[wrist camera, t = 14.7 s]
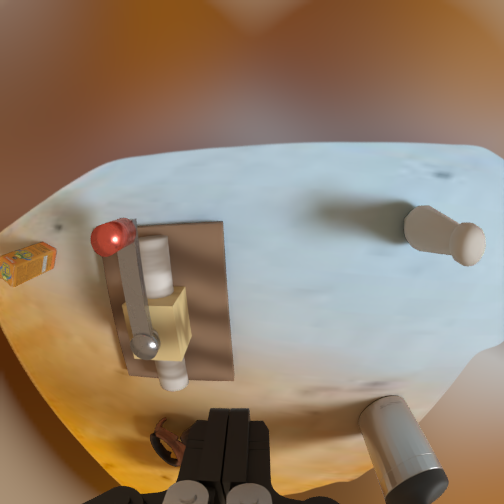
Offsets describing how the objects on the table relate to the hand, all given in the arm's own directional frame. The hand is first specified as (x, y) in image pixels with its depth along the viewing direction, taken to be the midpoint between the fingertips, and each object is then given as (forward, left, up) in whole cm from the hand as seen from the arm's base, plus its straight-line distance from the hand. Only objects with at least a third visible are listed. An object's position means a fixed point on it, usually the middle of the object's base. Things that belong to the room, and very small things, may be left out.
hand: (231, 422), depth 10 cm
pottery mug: (-31, +12, -27) cm, 43 cm away
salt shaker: (+3, -22, -27) cm, 35 cm away
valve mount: (-7, +11, -27) cm, 30 cm away
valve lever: (-1, +11, -18) cm, 21 cm away
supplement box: (+1, +30, -27) cm, 40 cm away
